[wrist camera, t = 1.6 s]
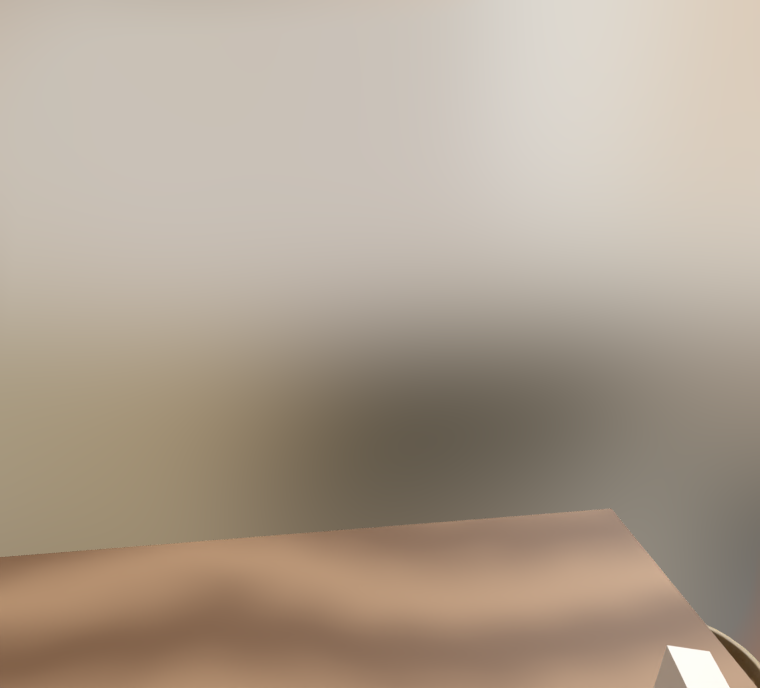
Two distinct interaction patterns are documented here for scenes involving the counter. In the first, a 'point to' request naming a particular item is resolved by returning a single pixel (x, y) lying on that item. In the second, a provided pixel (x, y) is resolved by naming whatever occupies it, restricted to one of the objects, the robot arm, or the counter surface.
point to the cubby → (355, 610)
